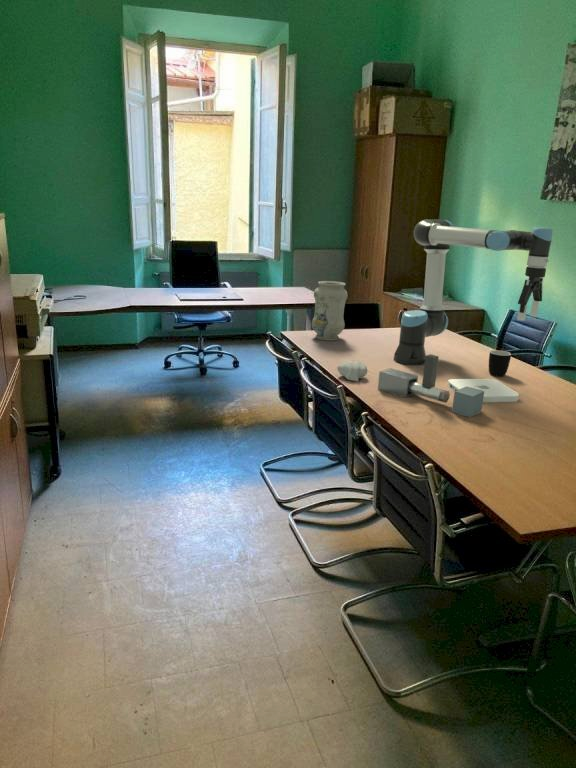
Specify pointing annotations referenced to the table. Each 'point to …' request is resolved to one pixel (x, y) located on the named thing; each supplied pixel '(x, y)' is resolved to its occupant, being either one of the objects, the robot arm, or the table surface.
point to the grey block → (468, 401)
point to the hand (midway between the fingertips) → (527, 318)
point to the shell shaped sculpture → (352, 370)
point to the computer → (486, 389)
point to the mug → (499, 362)
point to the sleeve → (396, 382)
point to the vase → (329, 310)
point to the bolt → (429, 382)
